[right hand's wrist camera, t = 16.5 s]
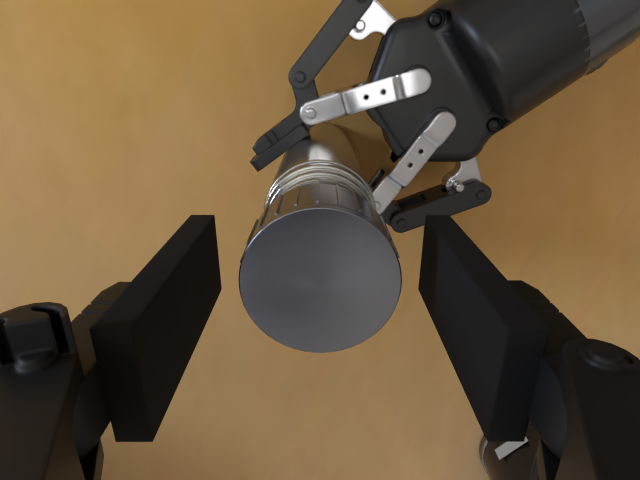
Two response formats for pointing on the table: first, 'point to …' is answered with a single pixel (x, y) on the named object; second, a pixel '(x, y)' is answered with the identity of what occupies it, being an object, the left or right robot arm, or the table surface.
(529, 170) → the table surface
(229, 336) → the table surface
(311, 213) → the cap
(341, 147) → the bottle
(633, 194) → the table surface
